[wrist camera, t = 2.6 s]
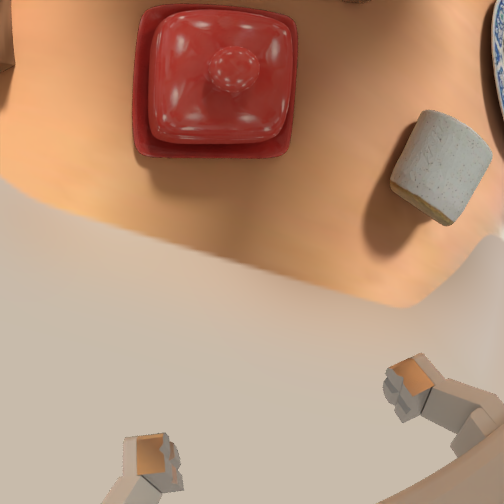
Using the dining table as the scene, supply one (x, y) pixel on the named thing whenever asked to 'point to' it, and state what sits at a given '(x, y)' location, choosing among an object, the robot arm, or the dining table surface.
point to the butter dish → (214, 82)
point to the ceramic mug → (440, 166)
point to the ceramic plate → (498, 50)
